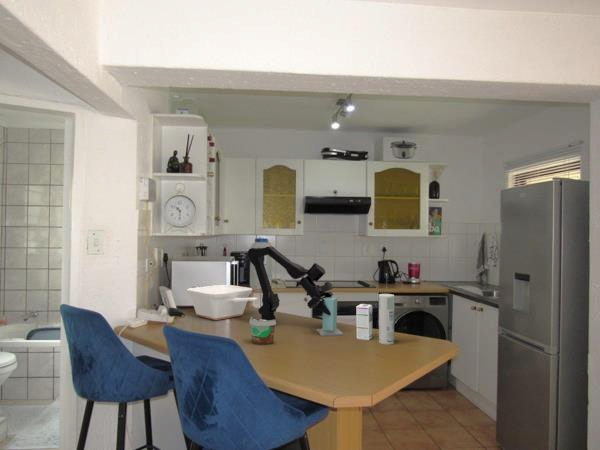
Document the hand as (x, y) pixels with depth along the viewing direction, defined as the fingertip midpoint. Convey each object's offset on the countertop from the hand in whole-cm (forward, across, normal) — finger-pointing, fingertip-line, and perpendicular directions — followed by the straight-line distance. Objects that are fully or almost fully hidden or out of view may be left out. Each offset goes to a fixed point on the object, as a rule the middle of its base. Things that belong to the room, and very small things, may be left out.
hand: (332, 313), depth 190 cm
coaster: (+6, 0, +7) cm, 9 cm away
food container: (-8, -30, +21) cm, 37 cm away
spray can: (+25, -4, -12) cm, 28 cm away
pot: (-36, +4, +50) cm, 62 cm away
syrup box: (+18, -2, -5) cm, 18 cm away
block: (+4, 0, +6) cm, 7 cm away
